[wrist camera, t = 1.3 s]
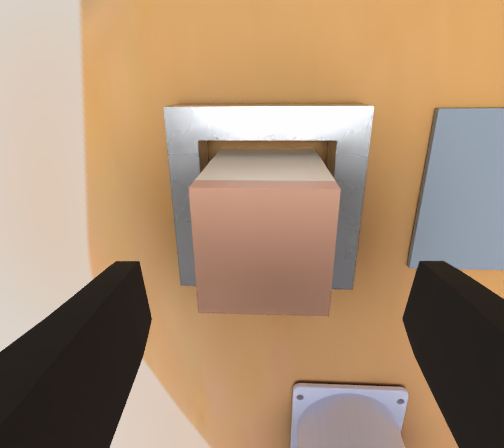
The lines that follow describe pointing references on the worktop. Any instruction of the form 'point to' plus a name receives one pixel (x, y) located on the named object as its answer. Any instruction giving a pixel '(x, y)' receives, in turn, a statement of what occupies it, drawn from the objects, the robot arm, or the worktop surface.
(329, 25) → the worktop surface
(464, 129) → the rubber mat
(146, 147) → the worktop surface
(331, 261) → the beige pink box
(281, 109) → the frame
